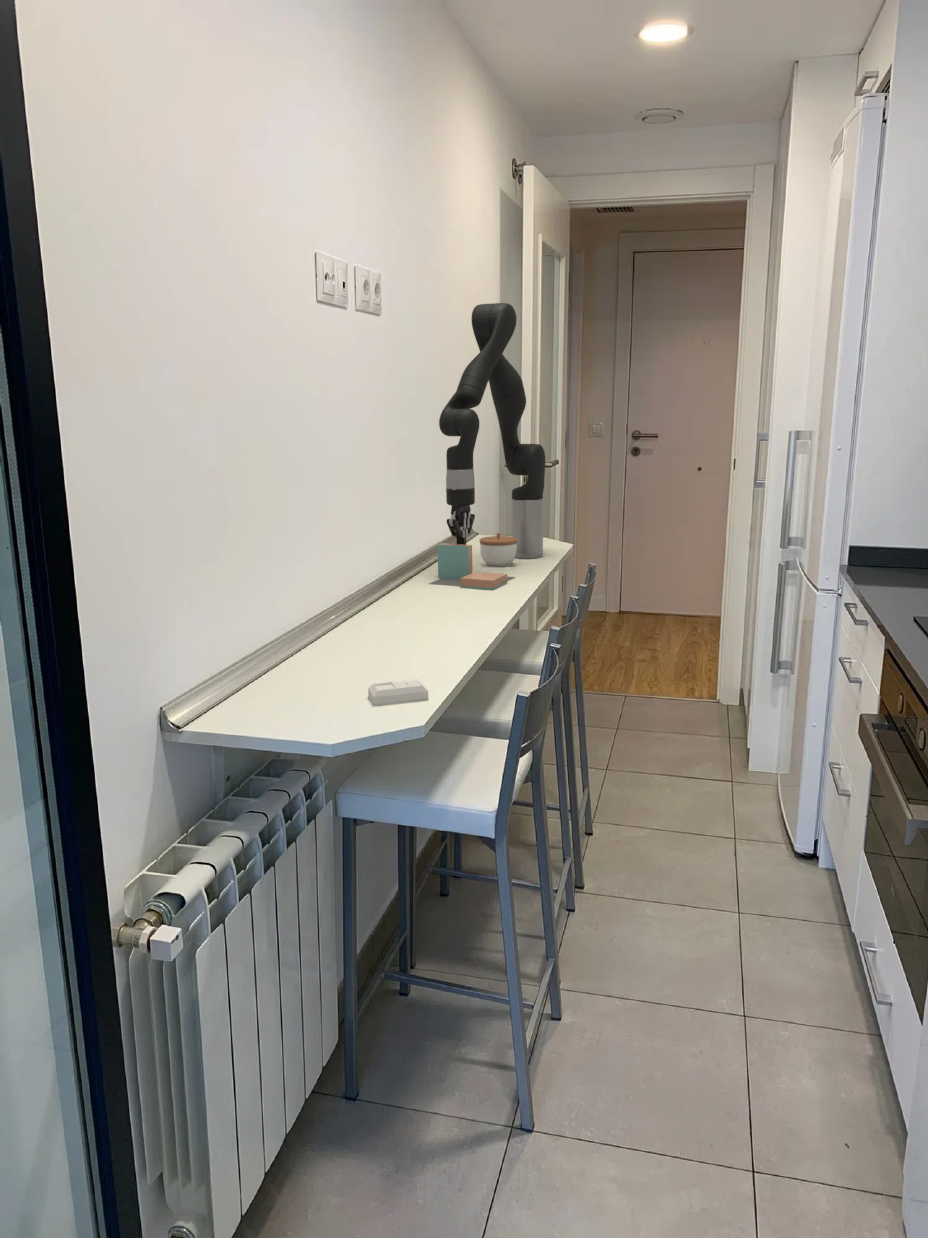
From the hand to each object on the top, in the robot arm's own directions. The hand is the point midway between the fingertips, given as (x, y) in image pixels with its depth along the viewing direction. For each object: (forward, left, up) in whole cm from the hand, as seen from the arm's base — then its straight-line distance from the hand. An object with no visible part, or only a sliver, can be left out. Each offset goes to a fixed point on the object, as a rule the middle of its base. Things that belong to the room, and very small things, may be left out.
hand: (461, 551), depth 252 cm
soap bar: (+96, +35, -8) cm, 103 cm away
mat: (+5, +6, -7) cm, 10 cm away
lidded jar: (-19, +3, -7) cm, 20 cm away
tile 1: (+4, 0, -7) cm, 8 cm away
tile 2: (+5, +11, -5) cm, 13 cm away
